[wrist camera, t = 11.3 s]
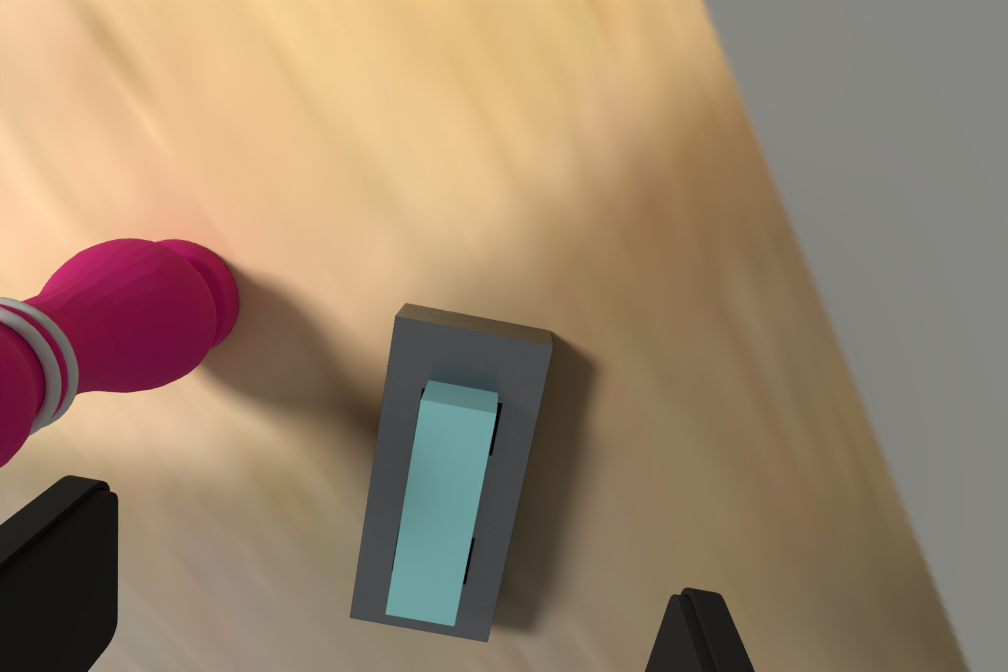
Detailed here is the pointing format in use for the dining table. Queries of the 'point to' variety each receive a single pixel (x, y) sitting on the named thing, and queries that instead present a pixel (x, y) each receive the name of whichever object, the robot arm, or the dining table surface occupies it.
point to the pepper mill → (109, 329)
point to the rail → (519, 383)
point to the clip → (441, 501)
